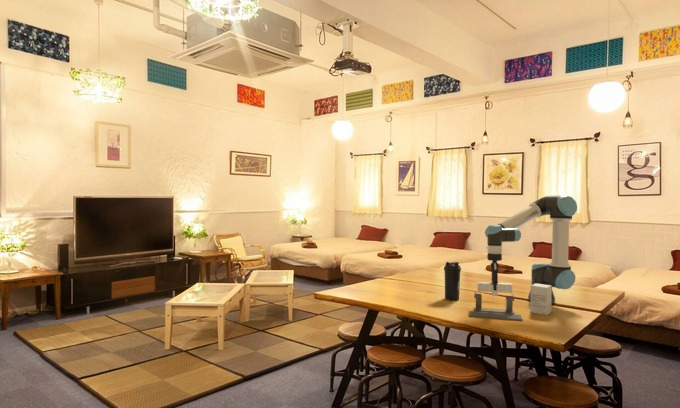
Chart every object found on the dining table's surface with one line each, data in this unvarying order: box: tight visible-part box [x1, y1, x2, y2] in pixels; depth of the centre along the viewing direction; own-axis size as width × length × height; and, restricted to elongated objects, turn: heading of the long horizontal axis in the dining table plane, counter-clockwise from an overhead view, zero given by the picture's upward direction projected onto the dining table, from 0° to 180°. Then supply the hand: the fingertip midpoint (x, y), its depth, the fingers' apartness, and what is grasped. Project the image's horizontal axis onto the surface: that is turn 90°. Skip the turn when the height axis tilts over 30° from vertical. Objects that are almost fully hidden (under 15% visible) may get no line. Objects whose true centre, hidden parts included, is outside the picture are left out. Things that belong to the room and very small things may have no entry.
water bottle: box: [443, 261, 462, 302], centre depth 272 cm, size 10×10×23 cm
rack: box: [473, 291, 515, 315], centre depth 244 cm, size 21×6×10 cm, turn 74°
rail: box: [477, 281, 513, 294], centre depth 244 cm, size 18×4×4 cm, turn 74°
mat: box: [468, 310, 524, 322], centre depth 233 cm, size 26×9×1 cm, turn 74°
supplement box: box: [529, 283, 553, 316], centre depth 243 cm, size 9×9×15 cm
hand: (494, 295), depth 244 cm, fingers closed on rail, 3 cm apart
